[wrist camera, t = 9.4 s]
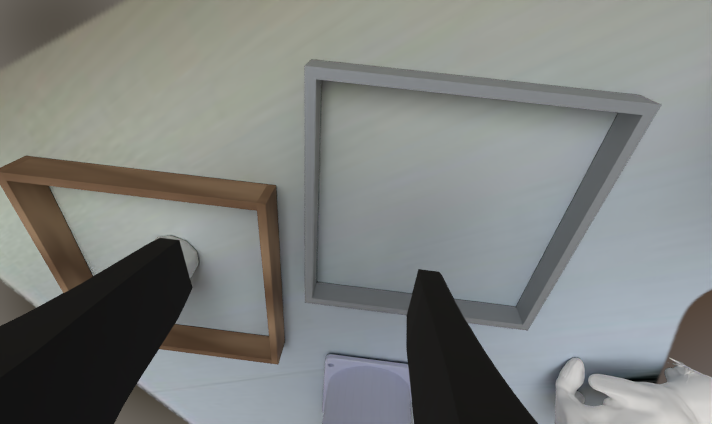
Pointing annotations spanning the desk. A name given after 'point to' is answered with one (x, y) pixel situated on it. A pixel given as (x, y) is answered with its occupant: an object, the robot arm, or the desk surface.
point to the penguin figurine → (634, 398)
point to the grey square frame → (608, 160)
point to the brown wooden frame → (59, 247)
